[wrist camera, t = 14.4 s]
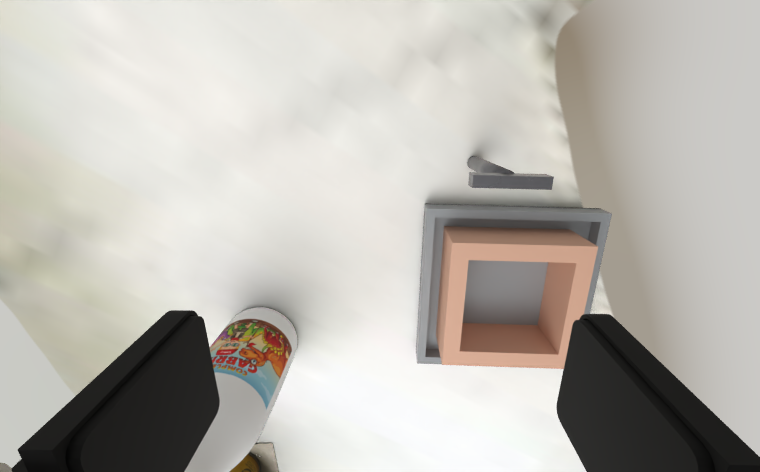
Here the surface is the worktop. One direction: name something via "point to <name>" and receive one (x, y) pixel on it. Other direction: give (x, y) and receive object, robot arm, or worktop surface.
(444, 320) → the ring
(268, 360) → the milk bottle
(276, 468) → the condiment
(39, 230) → the worktop surface
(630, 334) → the robot arm
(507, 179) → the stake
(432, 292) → the tray
